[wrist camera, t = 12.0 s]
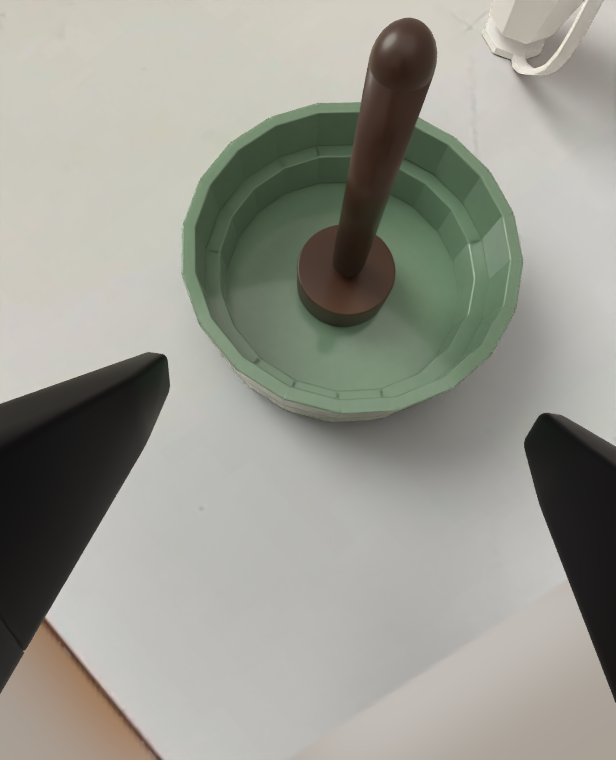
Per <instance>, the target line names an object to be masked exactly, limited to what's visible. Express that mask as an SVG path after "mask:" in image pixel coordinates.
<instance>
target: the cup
mask: <svg viewBox="0 0 616 760" xmlns="http://www.w3.org/2000/svg"><path fill="white" fill-rule="evenodd" d="M603 1H604V0H585V1H584V0H492V5H491V9H490V16H489V18H488V21H487V23H486V26H485V28H484V30H483V33H482V36H483V37H484V39H485V41H486V42H487V44H488V46H489V47H490V49H491V50H492V52H493V53H494V54H497V55H499V56H502V57H505V58H508V59H510V60H512V66H513V69H515V70H516V71H517V72H518V73H520V74H526V75H549V74H551V73H553V72H555V71H557V70H559V68H560V67H561V66H562V65H563V64H564V63H565V62H566V61H567V60H568V59H569V58H570V57H571V55H572V54H573V52H574V51H575V49H576V48H577V46H578V45H579V43H580V41H581V40H582V38H583V37H584V35H585V34H586V32H587V30H588V28H589V26H590V25H591V23H592V21H593V19H594V17H595V15H596V14H597V12H598V10H599V8H600V6H601V4H602V2H603ZM583 2H584V3H583ZM582 3H583V5H582V7H581V9H580V11H579V13H578V15H577V17H576V19H575V21H574V23H573V25H572V27H571V29H570V30H569V32H568V34H567V35H566V37H565V39H564V41H563V42H562V44H561V46H560V47H559V49H558V51H557V52H556V53H555V54H554V55H553V56H552V57H551V58H550V60H549V61H548V62H547V63H546V64H545V65H543V66H540V67H537V68H532V67H531V66H530V65H529V64H527V62H526V59H528V58H531V57H534V56H538V55H539V54H540V52H541V51H542V49H543V46H544V44H545V41H546V38H547V37H550V36H553V35H554V33H555V32H556V31H557V30H558V29H559V28H560V27H561V26H562V25H563V24H564V22H565V21H566V20H567V19H568V18H569V17H570V16H571V15H572V14H573V13H574V11H575V10H576V9H577V8H578V7H579V6H580V5H581V4H582Z"/></svg>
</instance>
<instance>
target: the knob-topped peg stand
mask: <svg viewBox="0 0 616 760" xmlns="http://www.w3.org/2000/svg"><path fill="white" fill-rule="evenodd" d="M436 62H437V48H436V42H435V39H434V37H433V34H432V32H431V31H430V29H429V28H428V27H427V26H426V25H425V24H424V23H423V22H421V21H420V20H417V19H414V18H403V19H400V20H397V21H394V22H393V23H391V24H390V25H389V26H387V27H386V28H385V29H384V30H383V31H382V32H381V34H380V35H379V36H378V38H377V39H376V41H375V43H374V45H373V48H372V50H371V54H370V57H369V63H368V68H367V73H366V79H365V84H364V90H363V95H362V100H361V106H360V111H359V117H358V122H357V128H356V133H355V138H354V144H353V149H352V155H351V160H350V165H349V171H348V176H347V182H346V187H345V193H344V198H343V203H342V209H341V214H340V220H339V225H334V226H330V227H327V228H325V229H322V230H321V231H319V232H317V233H316V234H314V235H313V236H312V237H311V238H310V239H309V240H308V241H307V242H306V243H305V245H304V246H303V248H302V250H301V252H300V254H299V258H298V262H297V290H298V294H299V297H300V300H301V302H302V304H303V305H304V307H305V308H306V309H307V311H308V312H309V313H310V314H311V315H313V316H314V317H315V318H317V319H318V320H320V321H322V322H324V323H326V324H329V325H332V326H338V327H350V326H355V325H359V324H362V323H364V322H366V321H368V320H369V319H371V318H372V317H373V316H375V315H376V314H377V312H378V311H379V310H380V309H381V307H382V306H383V304H384V302H385V301H386V299H387V297H388V295H389V294H390V292H391V290H392V288H393V285H394V281H395V273H396V270H395V263H394V259H393V256H392V254H391V252H390V250H389V248H388V247H387V245H386V244H385V243H384V241H383V240H382V239H381V238H379V237H378V236H377V235H376V232H377V230H378V227H379V224H380V221H381V219H382V216H383V213H384V210H385V208H386V205H387V202H388V199H389V197H390V194H391V191H392V188H393V186H394V183H395V180H396V177H397V174H398V172H399V169H400V166H401V163H402V161H403V158H404V155H405V152H406V150H407V147H408V144H409V141H410V139H411V136H412V133H413V130H414V127H415V125H416V122H417V119H418V116H419V114H420V111H421V108H422V105H423V103H424V100H425V97H426V94H427V92H428V89H429V86H430V83H431V81H432V78H433V75H434V72H435V68H436Z"/></svg>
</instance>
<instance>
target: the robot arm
mask: <svg viewBox="0 0 616 760" xmlns="http://www.w3.org/2000/svg"><path fill="white" fill-rule="evenodd" d="M169 388H170V380H169V370H168V360H167V357H166V356H165V355H163V354H158V353H151V352H147V353H144V354H141V355H138V356H136V357H133V358H130V359H127V360H124V361H121V362H118V363H116V364H113V365H110V366H107V367H104V368H101V369H98V370H96V371H93V372H90V373H87V374H84V375H81V376H78V377H76V378H73V379H70V380H67V381H64V382H61V383H58V384H56V385H53V386H50V387H47V388H44V389H41V390H39V391H36V392H33V393H30V394H27V395H24V396H21V397H19V398H16V399H13V400H10V401H7V402H4V403H1V404H0V693H1V691H2V690H3V688H4V686H5V685H6V683H7V681H8V680H9V678H10V676H11V675H12V673H13V671H14V669H15V668H16V666H17V664H18V663H19V661H20V659H21V657H22V656H23V654H24V652H23V651H24V650H26V648H27V647H28V645H29V643H30V642H31V640H32V638H33V636H34V635H35V632H36V631H37V630H38V628H39V626H40V625H41V623H42V621H43V619H44V618H45V616H46V614H47V613H48V611H49V609H50V607H51V606H52V604H53V602H54V601H55V599H56V597H57V596H58V594H59V592H60V590H61V589H62V587H63V585H64V584H65V582H66V580H67V579H68V577H69V575H70V573H71V572H72V570H73V568H74V567H75V565H76V563H77V561H78V560H79V558H80V556H81V555H82V553H83V551H84V550H85V548H86V546H87V544H88V543H89V541H90V539H91V538H92V536H93V534H94V532H95V531H96V529H97V527H98V526H99V524H100V522H101V521H102V519H103V517H104V515H105V514H106V512H107V510H108V509H109V507H110V505H111V504H112V502H113V500H114V498H115V497H116V495H117V493H118V492H119V490H120V488H121V486H122V485H123V483H124V481H125V480H126V478H127V476H128V475H129V473H130V471H131V469H132V468H133V466H134V464H135V463H136V461H137V459H138V458H139V456H140V454H141V452H142V451H143V449H144V447H145V445H146V443H147V441H148V439H149V437H150V434H151V432H152V430H153V428H154V425H155V423H156V421H157V418H158V416H159V414H160V411H161V409H162V407H163V404H164V402H165V400H166V397H167V395H168V393H169ZM524 448H525V452H526V456H527V460H528V464H529V468H530V471H531V475H532V479H533V483H534V486H535V490H536V494H537V497H538V501H539V504H540V507H541V510H542V513H543V515H544V518H545V521H546V523H547V526H548V528H549V531H550V534H551V536H552V539H553V541H554V544H555V547H556V549H557V552H558V554H559V557H560V560H561V562H562V565H563V567H564V570H565V573H566V575H567V578H568V580H569V583H570V585H571V588H572V591H573V593H574V596H575V599H576V601H577V603H578V606H579V609H580V611H581V614H582V617H583V619H584V622H585V625H586V627H587V629H588V632H589V635H590V637H591V640H592V643H593V645H594V648H595V650H596V653H597V656H598V658H599V661H600V663H601V666H602V669H603V671H604V674H605V676H606V679H607V682H608V684H609V687H610V689H611V692H612V694H613V697H614V700H615V702H616V446H614V445H612V444H610V443H609V442H607V441H605V440H604V439H602V438H600V437H598V436H597V435H595V434H593V433H592V432H590V431H588V430H586V429H585V428H583V427H581V426H580V425H578V424H576V423H574V422H573V421H571V420H569V419H568V418H566V417H564V416H562V415H557V414H551V413H543V414H541V415H540V416H539V417H538V418H537V420H536V422H535V423H534V425H533V427H532V428H531V430H530V431H529V433H528V435H527V436H526V438H525V442H524Z"/></svg>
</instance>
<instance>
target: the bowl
mask: <svg viewBox="0 0 616 760" xmlns="http://www.w3.org/2000/svg"><path fill="white" fill-rule="evenodd" d="M360 106H361V102H355V103H316V104H313V105H309V106H306V107H303V108H299V109H296V110H292V111H289V112H286V113H282V114H279V115H276V116H272V117H270V118H268V119H266V120H265V121H263V122H262V123H260V124H258V125H257V126H255V127H254V128H252V129H251V130H249V131H248V132H246V133H245V134H243V135H241V136H240V137H238V138H237V139H235V140H234V141H232V142H231V143H230V144H228V146H227V147H226V148H225V149H224V151H223V152H222V153H221V154H220V155H219V157H218V158H217V159H216V160H215V162H214V163H213V164H212V165H211V166H210V168H209V169H208V170H207V171H206V173H205V174H204V175H203V176H202V177H201V179H200V181H199V182H198V185H197V188H196V190H195V193H194V196H193V198H192V201H191V204H190V206H189V209H188V212H187V215H186V217H185V220H184V223H183V226H182V277H183V280H184V283H185V286H186V289H187V291H188V294H189V297H190V300H191V303H192V305H193V308H194V311H195V314H196V317H197V320H198V322H199V324H200V326H201V328H202V329H203V330H204V332H205V333H206V334H207V336H208V337H209V338H210V340H211V341H212V342H213V344H214V345H215V347H216V348H217V349H218V351H219V352H220V353H221V354H222V356H223V357H224V358H225V359H226V361H227V362H228V363H229V364H230V365H231V367H232V368H233V369H234V370H235V372H236V373H237V374H238V375H239V377H240V378H241V379H242V380H243V382H244V383H245V384H246V385H247V386H249V387H250V388H252V389H253V390H255V391H256V392H258V393H259V394H261V395H263V396H264V397H266V398H267V399H269V400H270V401H272V402H273V403H275V404H277V405H278V406H280V407H281V408H283V409H285V410H287V411H290V412H294V413H298V414H302V415H305V416H309V417H313V418H317V419H321V420H325V421H328V422H331V421H332V422H346V421H363V420H377V419H381V418H384V417H386V416H389V415H391V414H394V413H396V412H399V411H401V410H404V409H406V408H409V407H411V406H414V405H416V404H419V403H421V402H424V401H426V400H428V399H431V398H433V397H435V396H438V395H440V394H443V393H445V392H447V391H450V390H451V389H453V388H454V387H455V386H456V385H457V384H459V383H460V382H461V381H462V380H463V379H464V378H465V377H467V376H468V375H469V374H470V373H471V372H472V371H473V370H475V369H476V368H477V367H478V366H479V365H480V364H481V363H483V362H484V361H485V360H486V359H487V358H488V357H489V356H491V354H492V353H493V351H494V349H495V347H496V346H497V344H498V342H499V340H500V338H501V336H502V335H503V333H504V331H505V329H506V327H507V325H508V324H509V322H510V320H511V318H512V316H513V314H514V313H515V309H516V306H517V299H518V292H519V286H520V279H521V272H522V266H523V262H522V261H523V258H522V253H521V248H520V242H519V237H518V232H517V227H516V222H515V217H514V214H513V211H512V209H511V208H510V206H509V204H508V202H507V200H506V199H505V197H504V195H503V193H502V191H501V190H500V188H499V186H498V184H497V182H496V181H495V179H494V177H493V175H492V174H491V172H490V171H489V170H488V169H487V168H486V167H485V166H484V165H483V164H482V163H481V162H480V161H479V160H478V159H477V158H476V157H475V156H474V155H473V154H472V153H471V152H470V151H469V150H468V149H467V148H466V147H465V146H464V145H463V144H462V143H461V142H459V141H458V140H457V139H456V138H455V137H453V136H452V135H450V134H448V133H446V132H444V131H442V130H441V129H439V128H437V127H435V126H433V125H431V124H430V123H428V122H426V121H424V120H422V119H420V118H419V117H418V119H417V122H416V125H415V127H414V130H413V133H412V136H411V139H410V141H409V144H408V147H407V150H406V152H405V155H404V158H403V161H402V163H401V166H400V169H399V172H398V174H397V177H396V180H395V183H394V186H393V188H392V191H391V194H390V197H389V199H388V202H387V205H386V208H385V210H384V213H383V216H382V219H381V221H380V224H379V227H378V230H377V232H376V235H377V236H378V237H379V238H381V239H382V240H383V241H384V243H385V244H386V245H387V247H388V248H389V250H390V252H391V254H392V256H393V259H394V263H395V270H396V273H395V281H394V285H393V288H392V290H391V292H390V294H389V295H388V297H387V299H386V301H385V302H384V304H383V306H382V307H381V309H380V310H379V311H378V312H377V314H376V315H375V316H373V317H372V318H371V319H369V320H368V321H366V322H364V323H362V324H359V325H355V326H350V327H338V326H332V325H329V324H326V323H324V322H322V321H320V320H318V319H317V318H315V317H314V316H313V315H311V314H310V313H309V312H308V311H307V309H306V308H305V307H304V305H303V304H302V302H301V300H300V297H299V294H298V290H297V262H298V258H299V254H300V252H301V250H302V248H303V246H304V245H305V243H306V242H307V241H308V240H309V239H310V238H311V237H312V236H313V235H314V234H316V233H317V232H319V231H321V230H322V229H325V228H327V227H330V226H334V225H339V220H340V214H341V209H342V203H343V198H344V193H345V187H346V182H347V176H348V171H349V165H350V160H351V155H352V149H353V144H354V138H355V133H356V128H357V122H358V117H359V111H360Z"/></svg>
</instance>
